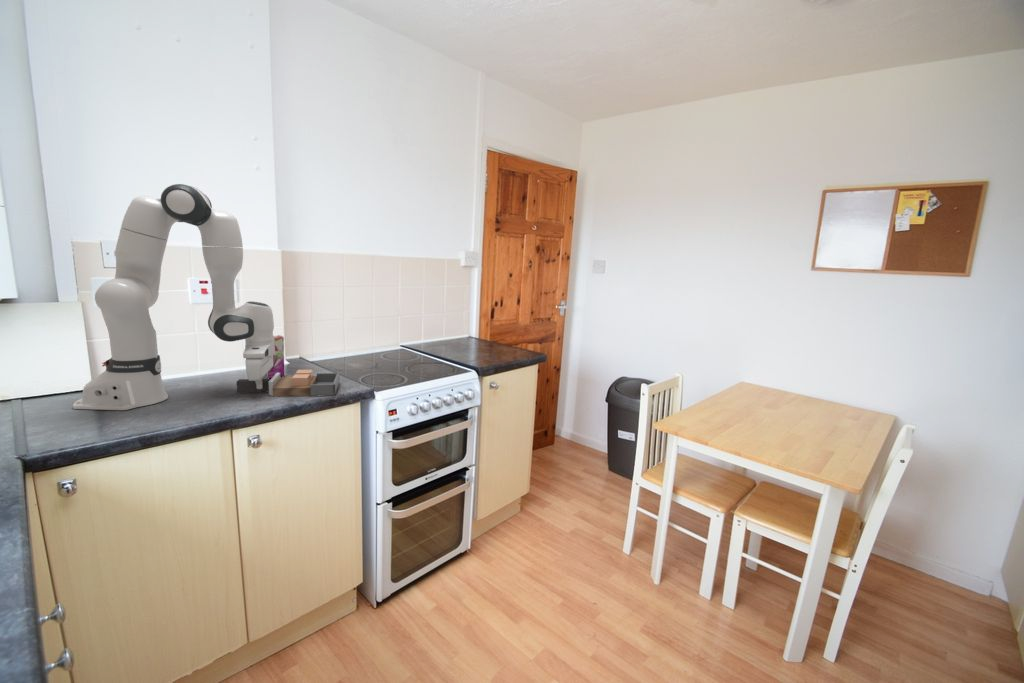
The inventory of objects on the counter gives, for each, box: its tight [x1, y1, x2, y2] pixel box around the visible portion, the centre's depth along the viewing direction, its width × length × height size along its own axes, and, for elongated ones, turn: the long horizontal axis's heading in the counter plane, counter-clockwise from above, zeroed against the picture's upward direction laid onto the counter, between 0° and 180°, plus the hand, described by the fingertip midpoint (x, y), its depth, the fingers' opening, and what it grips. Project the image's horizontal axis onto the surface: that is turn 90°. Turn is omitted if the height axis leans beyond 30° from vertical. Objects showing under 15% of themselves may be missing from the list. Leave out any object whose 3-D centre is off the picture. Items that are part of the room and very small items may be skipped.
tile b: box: [294, 369, 314, 381], centre depth 163 cm, size 5×5×3 cm
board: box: [272, 375, 317, 398], centre depth 160 cm, size 12×15×3 cm
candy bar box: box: [267, 334, 285, 379], centre depth 171 cm, size 11×5×16 cm, turn 144°
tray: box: [310, 372, 341, 397], centre depth 163 cm, size 8×16×4 cm, turn 16°
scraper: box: [236, 373, 281, 396], centre depth 157 cm, size 12×12×5 cm
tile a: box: [292, 374, 310, 386], centre depth 157 cm, size 5×5×3 cm
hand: (262, 386), depth 157 cm, fingers open, 4 cm apart
